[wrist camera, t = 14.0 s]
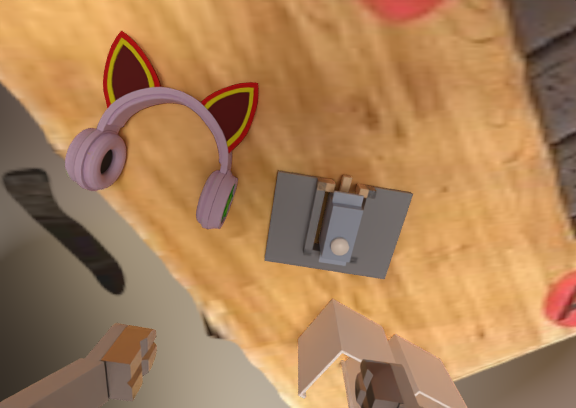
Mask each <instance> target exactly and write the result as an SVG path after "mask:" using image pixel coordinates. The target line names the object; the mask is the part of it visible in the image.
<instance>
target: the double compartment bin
mask: <svg viewBox="0 0 576 408" xmlns="http://www.w3.org/2000/svg"><path fill="white" fill-rule="evenodd" d="M342 353H343V354H345V355H347V356H349V358H348V359H347V360H346V361H343V360H342V361H341V364H342V370H343V376H344V382H345V388H346V394H347V400H348V406H349V408H361V407H360V405H359V404H358V403H357V402H356V396H355V380H356V377H357V374H358V373H360V372H361V369H360V364H361V361H362V360H363V359H366V360H374V361H382V362H388V363H395V364H402V366H403V367H404V369H405V372H406V374H407V377H408V379H409V382H410V384H411V387H412V390H413V392H414V395H415V397H416V400H417V402H418V405H419V406H421V407H424V408H467V406H466V404H465V402H464V401H463V399H462V397H461V395H460V394H459V392H458V390H457V388H456V386H455V384H454V382H453V381H452V379H451V377H450V375H449V373H448V372H447V370H446V368H445V366H444V364H443V362H442V361H441V359H440V358H438V357H436V356H434V355H432V354H431V353H429V352H427V351H425V350H424V349H422V348H420V347H418V346H416V345H415V344H413V343H411V342H409V341H407V340H406V339H404V338H402V337H400V336H398V335H397V334H395V335H394V336H392V337H391V338H390V339H389V340H388V341H387V338H386V335H385V333H384V330H383V327H382V326H381V325H379V324H377V323H375V322H373V321H372V320H370V319H368V318H366V317H365V316H363V315H361V314H359V313H357V312H356V311H354V310H352V309H350V308H348V307H347V306H345V305H343V304H341V303H340V302H338V301H336V300H334V299H332V300H331V301H330V302H329V303H328V304H327V306H326V307H325V308H324V309H323V310H322V311H321V313H320V314H319V315H318V316H317V317H316V318H315V320H314V321H313V322H312V323H311V324H310V325H309V327H308V328H307V329H306V330H305V331H304V332H303V334H302V335H301V336H300V337H299V338H298V396H300V397H302V398H305V397H306V390H307V389H308V388H309V387H310V386H311V385H312V384H313V383H314V382H315V381H316V380H317V379H318V378H319V377H320V376H321V375H322V374H323V373H324V372H325V370H326V369H327V368H328V367H329V366H330V365H331V364H332V363H333V362H334V361H335V360H336V359H337V358H338V357H339V356H340V355H341V354H342Z"/></svg>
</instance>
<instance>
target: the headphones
mask: <svg viewBox="0 0 576 408" xmlns="http://www.w3.org/2000/svg"><path fill="white" fill-rule="evenodd" d="M103 91H104V95H105V100H106V104H107V110H106V111H105V113H104V114H103V116H102V118H101V119H100V121H99V123H98V126H97V129H95V128H88V129H85V130H83V131H82V132H80V133H79V134H78V135H77V136H76V137H75V138H74V140H73V141H72V143H71V144H70V146H69V149H68V151H67V154H66V160H65V168H66V172H67V175H68V176H69V178H70V179H71V180H73V181H75V182H77V184H78V185H79V186H80V187H82V188H84V189H87V190H90V191H97V190H100V189H101V190H102V189H105V188H107V187H109V186H110V185H112V184H113V183H114V182H115V181H116V180H117V178H118V177H119V175H120V174H121V172H122V170H123V167H124V164H125V160H126V146H125V143H124V141H123V139H122V138H121V137H120V136H119V135H118V132H119V130H120V128H121V127H124V125H125V123H126V122H127V120H128V119H129V118H130V117H131V116H132V115H133V114H135V113H136V112H138V111H140V110H141V109H144V108H147V107H150V106H153V105H157V104H162V103H177V104H181V105H185V106H187V107H189V108H191V109H192V110H193V111H194V112H196V113H197V114H198V115H199V116H200V117H201V118H202V120H203V121H204V122H205V123H206V125H207V126H208V127H209V129H210V130H211V132H212V134H213V135H214V138H215V140H216V143H217V147H218V151H219V163H220V164H221V169H220V170H216V171H214V172H213V173H212V174H211V175H210V176H209V178H208V179H207V181H206V183H205V185H204V188H203V190H202V193H201V196H200V198H199V202H198V206H197V211H196V218H197V221H198V222H199V223H200V224H201V226H202V227H203V228H206V229H212V228H218V229H220V228H221V227H222V225H223V223H224V221H225V219H226V217H227V214H228V212H229V209H230V206H231V203H232V200H233V197H234V194H235V191H236V187H237V183H238V178H236V177H234V176H233V175H232V173H231V171H230V170H231V164H232V150H233V149H234V148H235V147H236V146H237V145H238V144H239V143H240V142H241V141H242V140H243V139H244V137H245V136H246V134H247V132H248V130H249V128H250V126H251V123H252V121H253V118H254V115H255V111H256V107H257V103H258V83H253V82H249V83H239V84H236V85H232V86H229V87H226V88H223V89H221V90H219V91H217V92H215V93H213V94H211V95H209V96H208V97H206V98H205V99H204V100H203V101H201V103H200V102H199V101H197V100H196V99H195V98H193V97H192V96H190V95H188V94H186V93H183V92H181V91H179V90H175V89H171V88H165V87H161V86H160V83H159V79H158V77H157V75H156V73H155V71H154V69H153V67H152V65H151V63H150V62H149V60H148V58H147V57H146V55H145V54H144V52H143V51H142V50H141V48H140V47H139V46H138V45H137V44H136V43H135V42H134V41H133V40H132V39H131V38H130V37H129V36H128V35H127V34H126V33H124V32H123V31H121V32H120V33H119V34H118V35H117V37H116V39H115V40H114V42H113V44H112V46H111V48H110V51H109V54H108V57H107V61H106V65H105V70H104V78H103Z"/></svg>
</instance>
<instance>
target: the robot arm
mask: <svg viewBox="0 0 576 408" xmlns="http://www.w3.org/2000/svg"><path fill="white" fill-rule="evenodd" d="M155 338H156V330H154V329H149V328H142V327H137V326H131V325H125V324H119V323H116V324H114V325H113V326H111V328H110V329H109V330H108V331H107V333H106V334H105V335H104V336H103V337H102V339H101V340H100V341H99V342H98V343H97V345H96V346H95V347H94V348H93V349H92V351H91V352H90V353H89V354H88V355H87V357H86V358H85V359H82V358H80V359H78V360H77V361H75V362H73V363H71V364H69V365H67V366H66V367H64V368H62V369H60V370H58V371H56V372H55V373H53V374H51V375H49V376H47V377H45V378H44V379H42V380H40V381H38V382H36V383H34V384H33V385H31V386H29V387H27V388H25V389H24V390H22V391H20V392H18V393H17V394H14V395H13V396H11V397H9V398H7V399H5V400H3V401H2V402H0V408H99V407H101V406H102V405H103V404H104V403H106V402H107V401H108V399H117V400H126V401H133V400H134V398H135V396H136V395H137V393H138V391H139V389H140V387H141V385H142V383H143V381H142V377H143V376H144V375H145V374H147V373H148V372H149V371H150V369H151V367H152V365H153V362H154V360H155V356H156V351H157V349H156V347H157V346H156V344H155V343H154V340H155ZM360 369H361V372H360V373H358V374H357V377H356V380H355V396H356V402H357V403H358V404H359V405H360V407H361V408H424V407H421V406H419V405H418V402H417V400H416V397H415V395H414V392H413V390H412V387H411V384H410V382H409V379H408V377H407V374H406V372H405V369H404V367H403V366H402V364H395V363H388V362H382V361H374V360H366V359H363V360H362V361H361V364H360Z"/></svg>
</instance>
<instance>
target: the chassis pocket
mask: <svg viewBox="0 0 576 408" xmlns="http://www.w3.org/2000/svg"><path fill="white" fill-rule="evenodd" d="M334 189H335V182H334V180H333V179H327V178H321V177H315V176H309V175H302V174H296V173H290V172H284V171H278V176H277V183H276V189H275V196H274V202H273V209H272V215H271V222H270V228H269V235H268V241H267V248H266V254H265V261H271V262H277V263H283V264H290V265H296V266H303V267H309V268H315V269H322V270H328V271H335V272H341V273H348V274H354V275H360V276H367V277H373V278H380V279H385V276H386V273H387V270H388V267H389V264H390V261H391V258H392V255H393V252H394V249H395V246H396V244H397V241H398V238H399V235H400V232H401V229H402V226H403V223H404V220H405V217H406V214H407V211H408V208H409V205H410V202H411V199H412V196H413V194H412V193H411V192H405V191H399V190H393V189H387V188H381V187H375V186H369V185H363V184H357V186H356V190H355V192H356V193H357V194H359V195H363V196H364V198H363V202H362V206H361V207H362V209H363V214H362V218H361V222H360V225H359V229H358V233H357V236H356V240H355V243H354V247H353V251H352V254H351V258H350V262H346V265H345V266H342V265H335V264H329V263H322V262H319V261H318V259H319V255H320V246H319V243H314V240H315V236H316V231H317V226H318V222H319V217H320V213H321V208H322V204H323V199H324V195H325V191H328V192H334Z"/></svg>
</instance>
